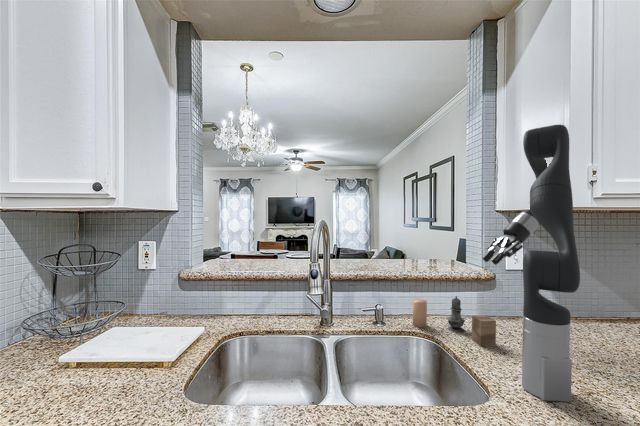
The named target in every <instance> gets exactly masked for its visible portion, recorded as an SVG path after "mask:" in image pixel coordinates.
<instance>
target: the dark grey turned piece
mask: <svg viewBox="0 0 640 426" xmlns="http://www.w3.org/2000/svg"><path fill="white" fill-rule="evenodd" d="M461 303H462V302H461V299H459V298H458V296H457V295H455V297H454V298H452V300H451V307H450V310H451V314H450V316H448V317H447V322H448V325H449V326H448V327H447V329H448V331H451V332H455V333H463V332H464V331H465V330H464V328H462V327H463V325H464V324H465V321H466V320H465V319H464V318H462V315H461V312H462V310H463V309H462V308H461V305H462V304H461Z"/></svg>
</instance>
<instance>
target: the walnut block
mask: <svg viewBox="0 0 640 426" xmlns="http://www.w3.org/2000/svg"><path fill="white" fill-rule="evenodd" d="M496 334H497V320H496V319H494V318H493V317H490V316H488V315H484V314H483V315H472V316H471V341H472V342H474V343H476V344H477V345H478V346H479V347H496V341H497V335H496Z"/></svg>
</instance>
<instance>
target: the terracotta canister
mask: <svg viewBox="0 0 640 426" xmlns="http://www.w3.org/2000/svg"><path fill="white" fill-rule="evenodd" d="M427 321H428V301H427V300H426V299H421V298H416V299H414V298H413V299H412V326H413V327H415V328H419V329H420V328H421V329H424V328H427V327H428V325H427V323H428V322H427Z"/></svg>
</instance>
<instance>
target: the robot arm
mask: <svg viewBox="0 0 640 426" xmlns="http://www.w3.org/2000/svg"><path fill="white" fill-rule="evenodd" d="M522 142H523V143H522V145H523V150H524V151H523V152H524V155H525V158H526V159H527V162H528V164H529V166H530V168H531V170H532V171H533V174H534V177H535V180H534V181H533V183H532V185H530V191H529V203H530V210H524V209H523V210H522V211H521V212H520V213H519V214H518V215H516V216H515V217H514V218H513V219H512V220H511V221H510V222H509V223H508V224H507V226H506V227H504V228H503V231H502V232H503V235H501V236H500V237H499V238H497V237H496V236H495V237H493V238H492V239H491V241H490V242H489V244H488V245H487V246H486V249H487V253H485V254H484V255H483V256H482V257H481V258H482V260H483V261H484V263H488V262H489V261H491V263H492V264H494V265H498V264H499V263H500V262H501V261H502V260H503V259H505V258H511V257H512V256H514V255H515V254H516V253H517V252H518V251H520V250H521V249H522V248H524V246H523V243H525V242H526V241H527V239H528V238H529V237H530V236H531V235H532V234H533V233H534V232H535V231H536V230H537V228H538V226H539V225H540V226H542V228H543V229H544V230H545V231H546V232H547V234H549V235H550V237H551V238H552V239H553V241H554V243H555V245H556V247H557V250H558V251H554V250H553V251H552V250H551V251H549V250H534V249H533V250H532V249H531V250H530V249H529V250H527V251H526V252H525V253H524V256H523V258H522V278H523V279H522V281H523V283H522V284H523V306H522V307H523V309H522V311H523V312H522V352H521V353H522V354H521V356H522V357H521V386H522V388H523V389H524V390H526V391H527V392H528V393H529V394H531V395H533V396H536V397H538V398H539V399H541V401H547V402H548V401H549V402H564V403H565V402H566V403H567V402H569V403H570V402H572V376H573V375H572V369H573V368H572V367H573V365H572V364H573V361H572V359H570V357H571V356H570V347H571V346H570V345H571V311H570V310H569V309H568V308H566V306H563V305H561V304H559V303H556V302H554V301H552V300H549V298H546V297H545V296H544V295H542V294H541V293H540V291H541V290H542V291H550V292H557V293H568V294H569V293H570V294H571V293H576V292H577V291H578V290H579V287H580V283H581V271H580V263H579V256H578V250H577V244H576V243H577V242H576V238H575V229H574V204H573V203H574V202H573V191H572V189H573V188H572V183H571V174H570V135H569V130H568V128H567V127H566V126H565V125H564V124H553V125H548V126H542V127H536V128H531V129H528V130H527V131H525V133H524V135H523V141H522ZM548 158H549V159H550V158H552V159H551V161H550V162H551V163H550V164H549V166H548V167H547V163H546V160H547V159H548Z"/></svg>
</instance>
